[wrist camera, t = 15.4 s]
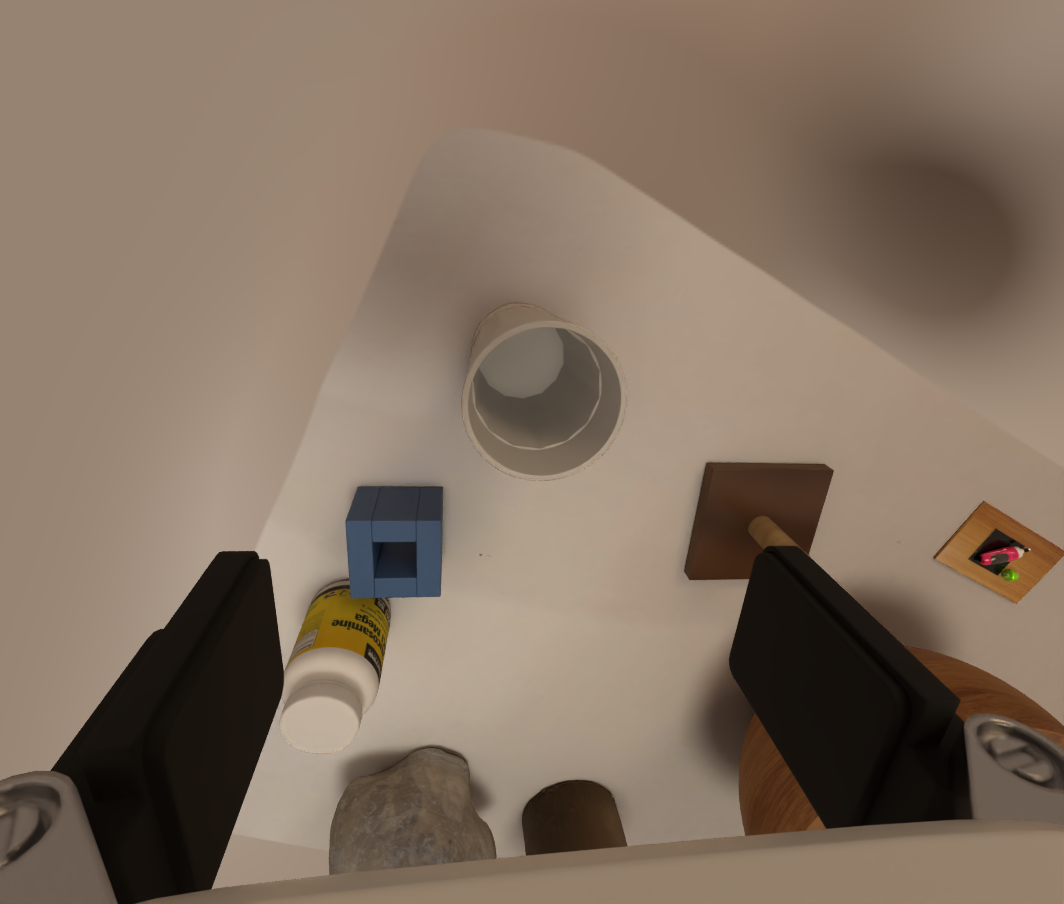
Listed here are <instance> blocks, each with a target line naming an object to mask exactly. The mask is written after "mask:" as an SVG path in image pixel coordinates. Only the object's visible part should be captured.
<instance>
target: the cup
mask: <svg viewBox="0 0 1064 904" xmlns="http://www.w3.org/2000/svg"><path fill="white" fill-rule="evenodd" d="M461 405H462V417H463V422H464V426H465V429H466V432H467V434H468V437H469V439H470V440H471V442H472V444H473V446H474V447H475V449H476V450H477V451H478V452H479V454H480V455H481V456H482V457H483V458H484V459H485V460H486V461H487V462H488V463H490V464H491V465H492V466H494V467H495V468H497V469H498V470H500V471H502V472H504V473H506V474H508V475H511V476H513V477H517V478H520V479H525V480H532V481H549V480H556V479H560V478H564V477H567V476H570V475H573V474H575V473H578V472H580V471H581V470H583V469H585V468H587V467H588V466H590V465H591V464H593V463H594V462H595V461H596V460H597V459H599V458H600V457H601V456H602V455H603V454H604V453H605V452H606V451H607V449H608V448H609V447H610V446H611V444H612V443H613V441H614V440H615V438H616V436H617V435H618V433H619V430H620V428H621V426H622V423H623V420H624V417H625V412H626V406H627V388H626V382H625V377H624V374H623V371H622V368H621V366H620V364H619V362H618V360H617V358H616V357H615V355H614V353H613V352H612V351H611V350H610V348H609V347H608V346H607V345H606V344H605V343H604V342H603V341H602V340H601V339H600V338H598V337H597V336H596V335H594V334H593V333H591V332H590V331H588V330H586V329H584V328H582V327H579V326H577V325H574V324H572V323H569V322H566V321H564V320H562V319H559V318H557V317H555V316H553V315H551V314H548V313H547V312H546V311H544V310H542V309H541V308H539V307H536V306H533V305H530V304H524V303H515V304H509V305H505V306H502V307H500V308H498V309H496V310H494V311H493V312H491V313H490V314H489V315H488V316H487V317H486V318H485V319H484V320H483V321H482V322H481V324H480V325H479V327H478V328H477V330H476V333H475V335H474V338H473V343H472V355H471V359H470V364H469V369H468V372H467V376H466V380H465V383H464V387H463V392H462V404H461Z"/></svg>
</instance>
